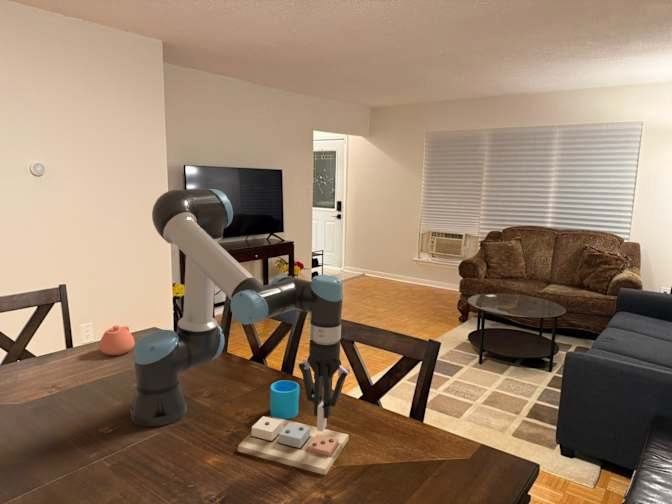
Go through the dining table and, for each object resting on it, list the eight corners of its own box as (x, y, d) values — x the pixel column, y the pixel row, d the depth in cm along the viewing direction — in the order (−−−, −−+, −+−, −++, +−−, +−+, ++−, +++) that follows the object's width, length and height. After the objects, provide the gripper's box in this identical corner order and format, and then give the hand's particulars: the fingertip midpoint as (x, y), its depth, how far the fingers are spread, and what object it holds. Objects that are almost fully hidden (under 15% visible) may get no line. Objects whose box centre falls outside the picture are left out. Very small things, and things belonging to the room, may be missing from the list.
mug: (288, 422, 133) (288, 395, 132) (264, 414, 137) (264, 388, 136) (310, 404, 144) (310, 379, 142) (288, 397, 147) (288, 373, 146)
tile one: (251, 435, 123) (251, 426, 122) (263, 424, 128) (263, 415, 128) (271, 441, 121) (271, 431, 120) (282, 429, 126) (282, 420, 126)
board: (237, 451, 119) (237, 445, 119) (269, 420, 134) (269, 415, 133) (325, 475, 110) (325, 469, 110) (348, 439, 125) (348, 434, 125)
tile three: (307, 455, 118) (307, 445, 117) (316, 442, 123) (317, 433, 123) (329, 461, 115) (329, 451, 115) (338, 448, 121) (338, 438, 120)
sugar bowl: (92, 356, 176) (90, 330, 174) (115, 343, 189) (114, 318, 188) (122, 359, 174) (120, 332, 172) (143, 345, 187) (142, 321, 186)
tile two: (278, 442, 120) (278, 433, 120) (289, 431, 126) (289, 421, 125) (300, 448, 118) (300, 438, 117) (309, 436, 123) (310, 426, 123)
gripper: (294, 340, 113) (291, 429, 117) (344, 349, 108) (340, 442, 113) (307, 330, 120) (304, 415, 124) (355, 338, 115) (350, 426, 120)
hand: (321, 428), depth 118 cm, fingers closed
